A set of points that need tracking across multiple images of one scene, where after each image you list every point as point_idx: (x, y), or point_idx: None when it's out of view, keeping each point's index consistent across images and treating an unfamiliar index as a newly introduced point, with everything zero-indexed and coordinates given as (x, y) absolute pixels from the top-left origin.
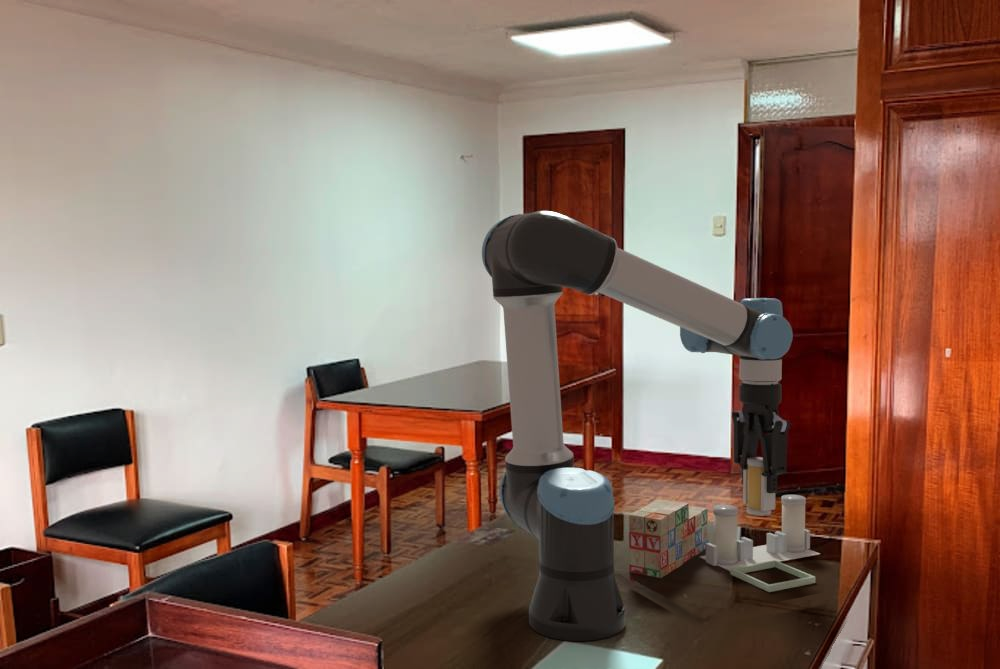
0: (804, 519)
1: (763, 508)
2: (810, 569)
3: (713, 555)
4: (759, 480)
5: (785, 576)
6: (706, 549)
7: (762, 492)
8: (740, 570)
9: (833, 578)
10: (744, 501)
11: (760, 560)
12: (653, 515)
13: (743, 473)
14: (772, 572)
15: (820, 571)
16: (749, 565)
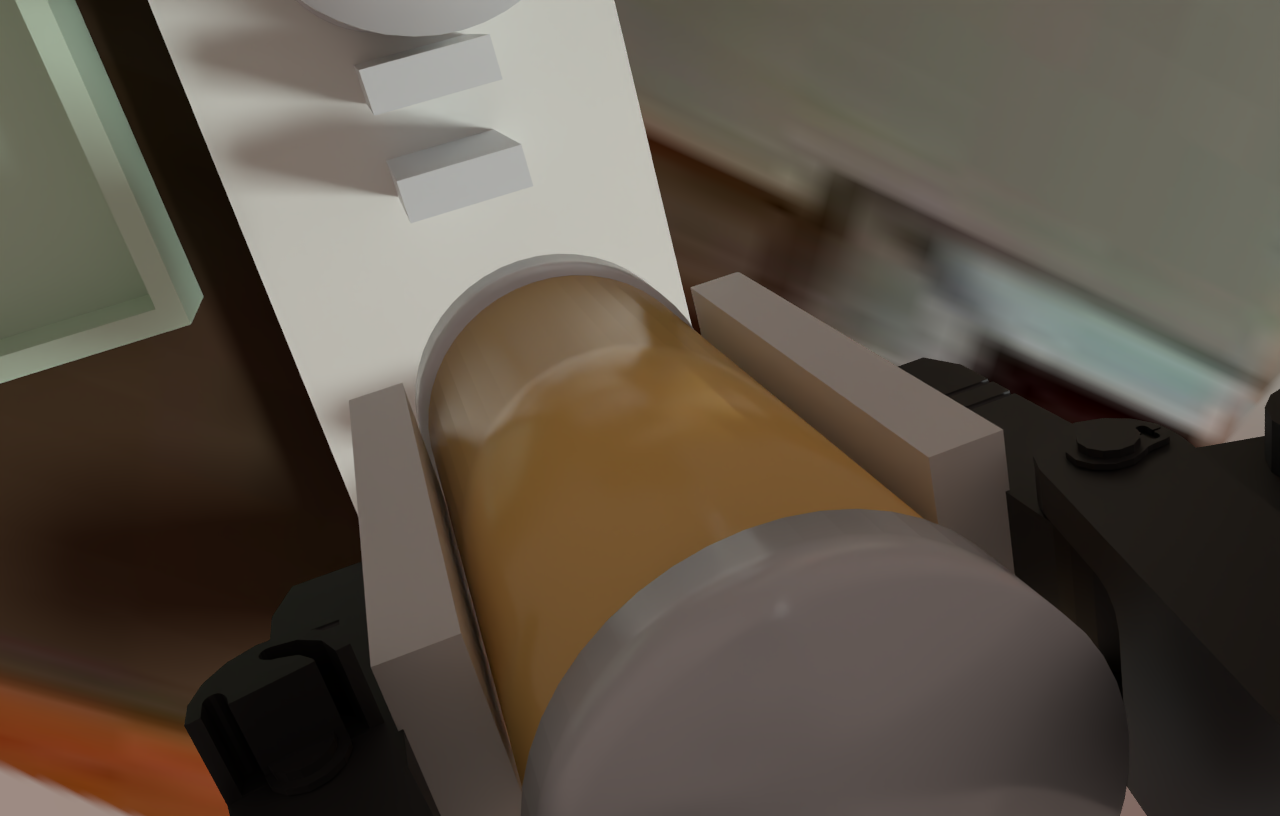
0: None
1: (352, 411)
2: (283, 578)
3: None
4: (501, 552)
5: (134, 350)
6: None
7: (390, 492)
8: None
9: (61, 662)
10: (721, 289)
11: (351, 244)
12: None
13: (951, 405)
14: (244, 288)
15: (231, 627)
16: (40, 21)
